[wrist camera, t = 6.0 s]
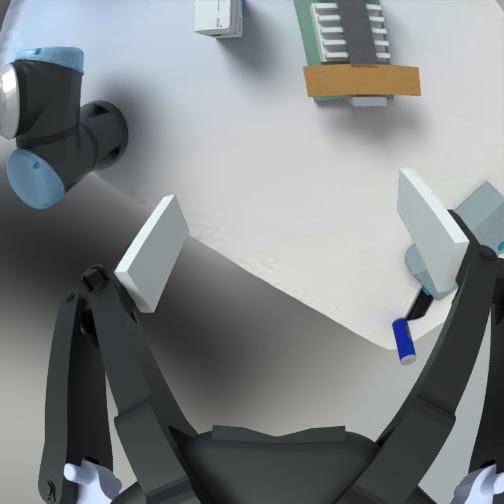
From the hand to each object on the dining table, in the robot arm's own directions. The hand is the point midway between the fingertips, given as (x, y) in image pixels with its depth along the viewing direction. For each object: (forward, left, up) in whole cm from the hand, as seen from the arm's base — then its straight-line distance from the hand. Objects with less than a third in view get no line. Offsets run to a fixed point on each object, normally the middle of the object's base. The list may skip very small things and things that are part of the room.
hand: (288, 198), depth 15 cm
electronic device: (+40, -32, -35) cm, 62 cm away
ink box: (-6, +18, -35) cm, 40 cm away
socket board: (+12, +12, -35) cm, 39 cm away
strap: (+12, +12, -27) cm, 32 cm away
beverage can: (+29, -66, -35) cm, 80 cm away
